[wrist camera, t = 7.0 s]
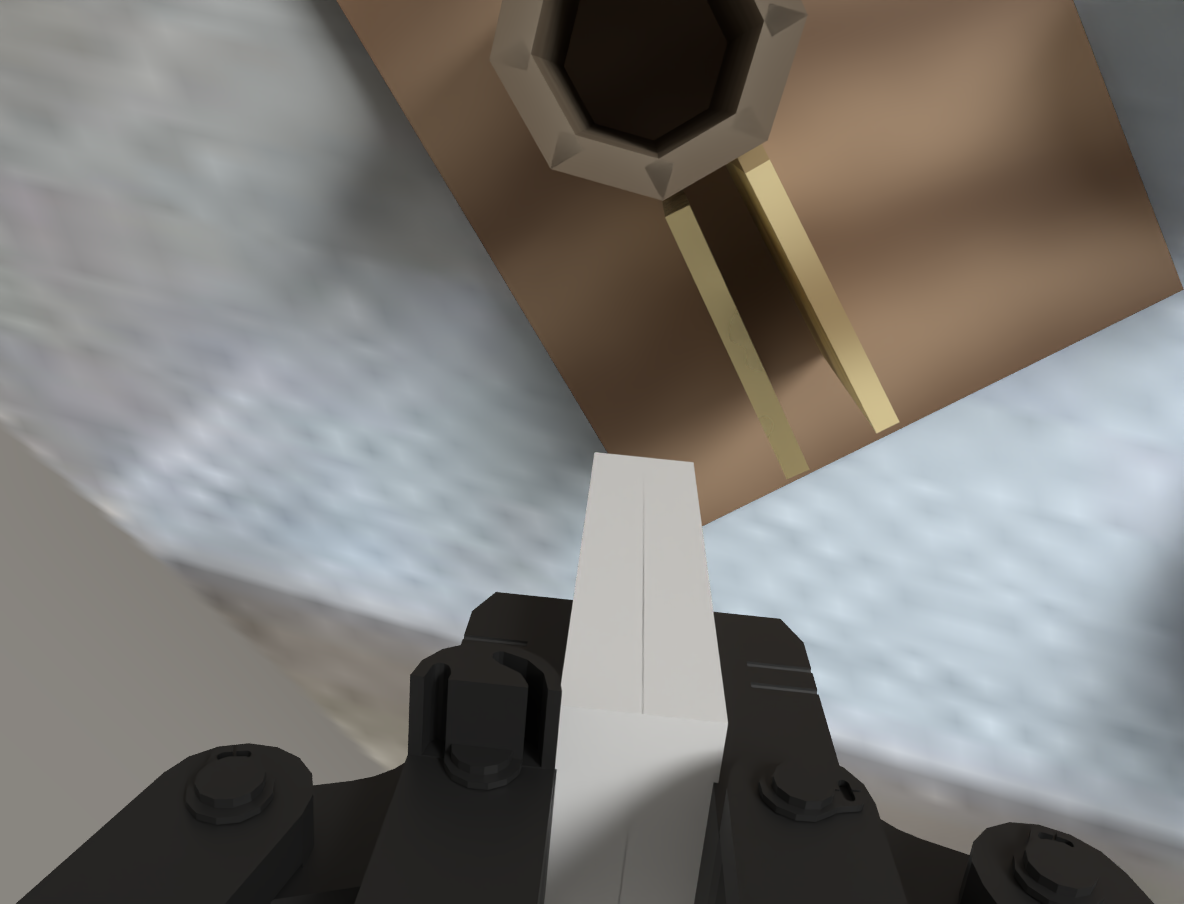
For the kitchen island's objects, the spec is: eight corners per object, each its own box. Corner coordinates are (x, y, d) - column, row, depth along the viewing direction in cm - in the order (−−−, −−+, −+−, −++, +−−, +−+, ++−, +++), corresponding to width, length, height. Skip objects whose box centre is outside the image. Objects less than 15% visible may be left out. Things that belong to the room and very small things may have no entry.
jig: (1163, 282, 31) (1397, 365, 21) (662, 530, 35) (670, 696, 25) (838, -557, 24) (965, -978, 15) (264, -138, 28) (69, -257, 19)
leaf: (770, 381, 31) (809, 469, 24) (753, 389, 31) (786, 479, 24) (677, 177, 29) (689, 204, 22) (659, 186, 29) (665, 217, 22)
